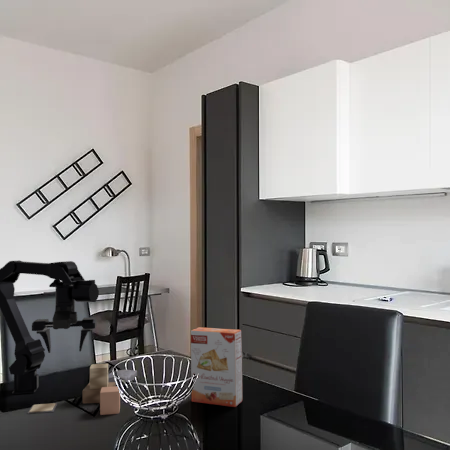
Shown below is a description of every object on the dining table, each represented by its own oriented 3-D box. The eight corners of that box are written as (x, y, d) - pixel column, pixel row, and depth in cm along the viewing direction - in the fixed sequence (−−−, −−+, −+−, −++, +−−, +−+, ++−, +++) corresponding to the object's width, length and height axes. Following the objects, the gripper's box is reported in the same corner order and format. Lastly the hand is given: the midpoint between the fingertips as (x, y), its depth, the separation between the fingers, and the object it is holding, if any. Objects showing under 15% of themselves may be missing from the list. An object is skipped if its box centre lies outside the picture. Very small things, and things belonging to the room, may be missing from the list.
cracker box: (190, 402, 139) (189, 329, 140) (199, 396, 144) (198, 326, 145) (235, 408, 133) (234, 332, 134) (243, 401, 139) (241, 328, 140)
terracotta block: (100, 415, 130) (100, 392, 130) (101, 408, 135) (101, 387, 135) (119, 413, 131) (119, 391, 131) (120, 407, 136) (119, 386, 136)
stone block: (100, 395, 154) (131, 388, 153) (98, 380, 154) (128, 373, 154) (111, 385, 166) (139, 379, 165) (109, 371, 166) (137, 365, 166)
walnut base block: (82, 404, 140) (82, 390, 140) (89, 395, 148) (89, 382, 148) (110, 403, 140) (110, 389, 140) (115, 395, 148) (115, 382, 148)
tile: (27, 413, 132) (27, 412, 132) (32, 405, 138) (32, 404, 138) (53, 411, 133) (53, 410, 133) (57, 404, 139) (57, 402, 139)
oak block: (89, 389, 141) (89, 368, 141) (91, 384, 146) (91, 364, 146) (107, 388, 142) (107, 367, 142) (108, 383, 147) (108, 363, 147)
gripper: (27, 305, 141) (27, 359, 140) (93, 303, 144) (93, 356, 143) (36, 301, 152) (35, 351, 151) (96, 299, 155) (96, 348, 154)
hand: (65, 351), depth 150 cm, fingers open, 9 cm apart
